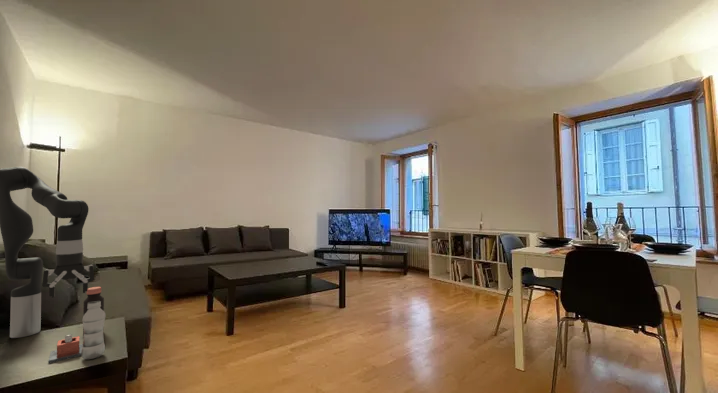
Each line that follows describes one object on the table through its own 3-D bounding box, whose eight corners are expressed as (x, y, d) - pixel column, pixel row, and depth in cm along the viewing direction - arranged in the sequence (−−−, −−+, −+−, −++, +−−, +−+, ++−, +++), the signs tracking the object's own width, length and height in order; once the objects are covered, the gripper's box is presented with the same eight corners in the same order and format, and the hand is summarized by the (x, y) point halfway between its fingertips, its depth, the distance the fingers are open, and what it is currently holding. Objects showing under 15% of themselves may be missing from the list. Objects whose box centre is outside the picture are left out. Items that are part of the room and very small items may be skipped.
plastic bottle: (85, 355, 116) (86, 301, 116) (108, 352, 118) (108, 299, 119) (77, 363, 110) (78, 306, 110) (100, 359, 112) (101, 303, 113)
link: (56, 356, 113) (56, 345, 113) (57, 351, 117) (58, 340, 117) (79, 351, 117) (79, 340, 117) (79, 346, 121) (79, 336, 121)
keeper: (50, 353, 117) (51, 335, 117) (85, 345, 124) (86, 328, 124) (48, 363, 110) (48, 343, 110) (86, 354, 116) (86, 335, 117)
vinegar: (104, 334, 135) (104, 288, 136) (83, 339, 131) (84, 291, 131) (102, 329, 140) (103, 285, 141) (82, 334, 135) (83, 288, 136)
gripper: (42, 255, 111) (41, 301, 110) (94, 251, 120) (94, 293, 120) (44, 253, 116) (43, 296, 116) (94, 249, 126) (93, 289, 125)
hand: (69, 294), depth 118 cm, fingers open, 8 cm apart
